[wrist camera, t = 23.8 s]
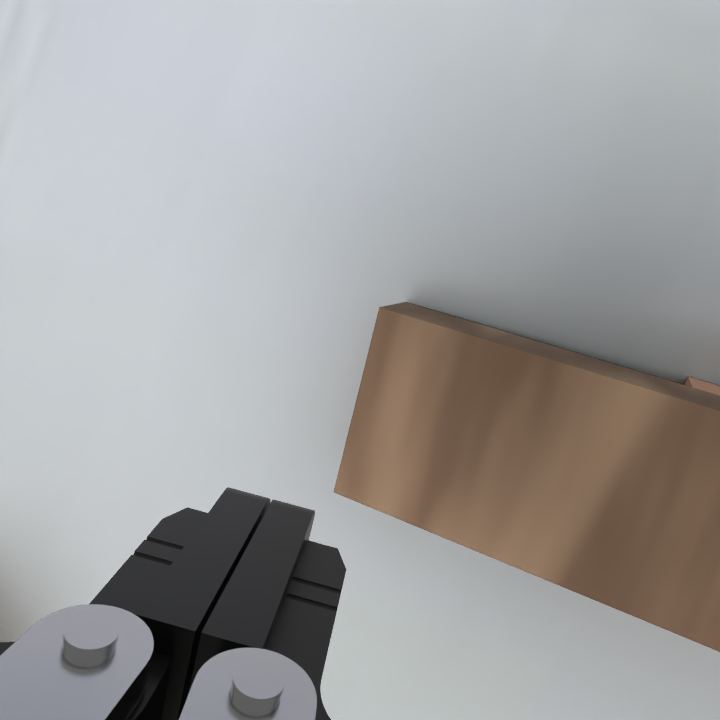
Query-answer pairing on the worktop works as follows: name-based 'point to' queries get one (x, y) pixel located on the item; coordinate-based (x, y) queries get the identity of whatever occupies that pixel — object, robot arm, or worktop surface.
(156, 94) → the worktop surface
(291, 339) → the worktop surface
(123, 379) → the worktop surface
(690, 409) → the wood grain beam
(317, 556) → the robot arm
